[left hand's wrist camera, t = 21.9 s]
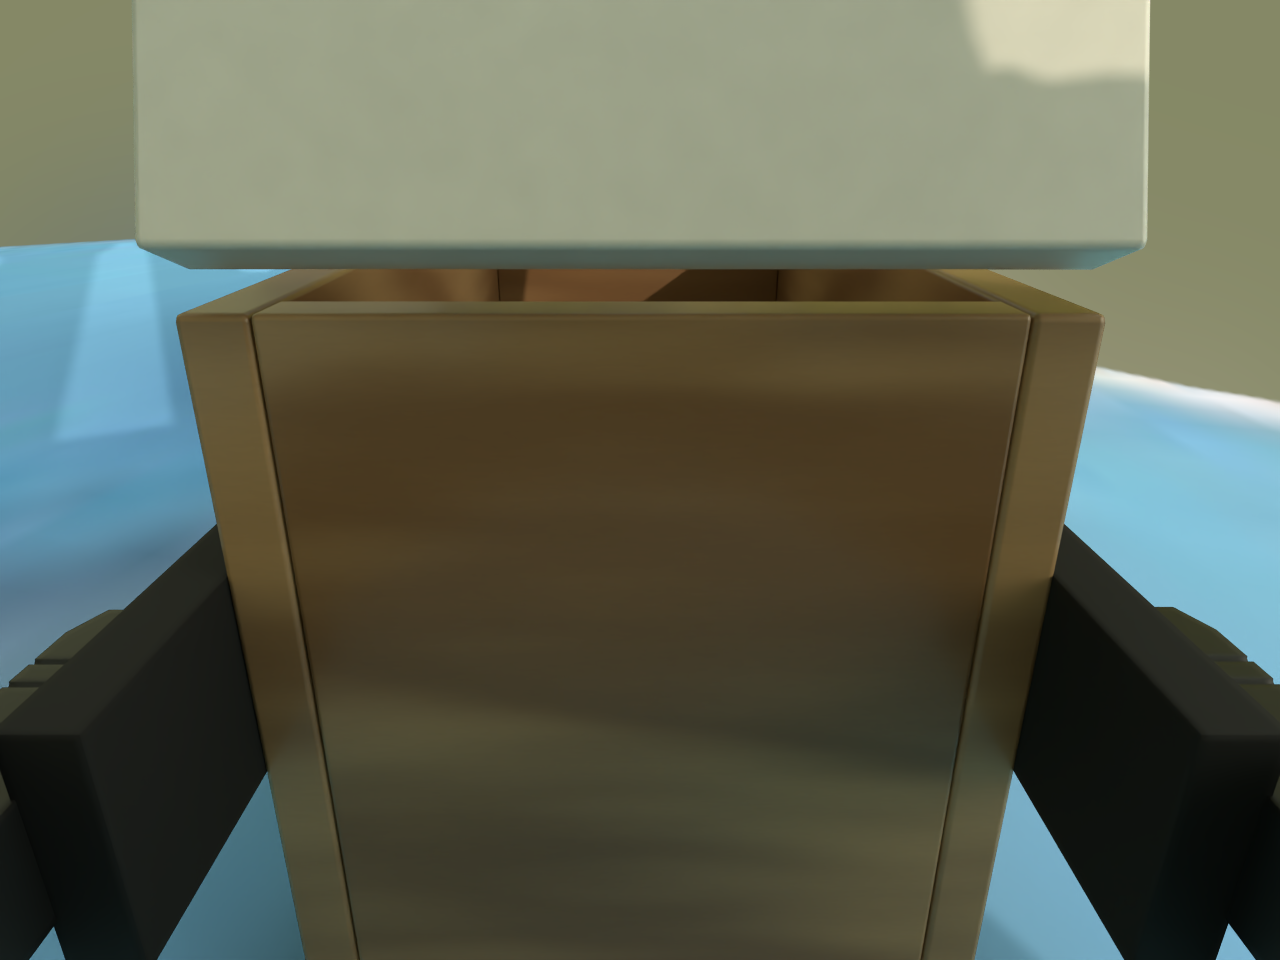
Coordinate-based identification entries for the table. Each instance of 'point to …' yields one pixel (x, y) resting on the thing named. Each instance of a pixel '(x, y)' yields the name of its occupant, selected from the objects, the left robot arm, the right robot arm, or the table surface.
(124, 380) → the table surface
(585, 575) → the chest
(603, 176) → the lid
